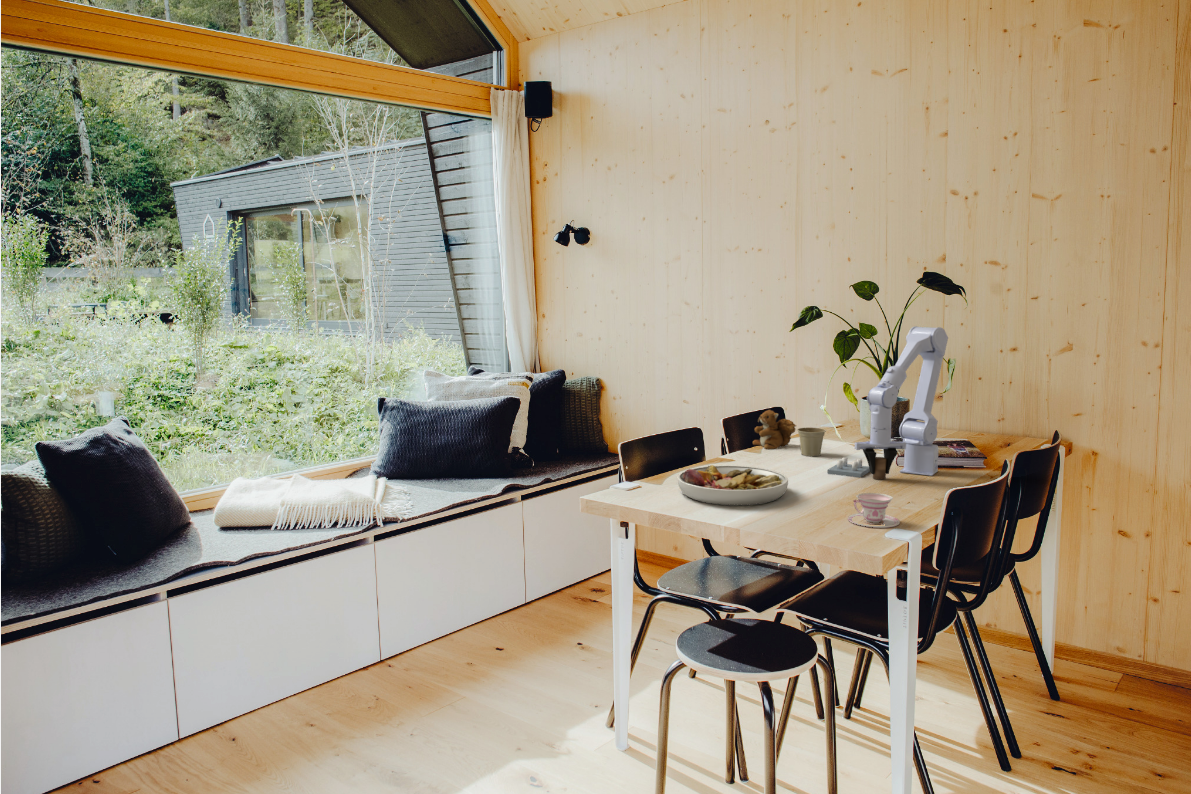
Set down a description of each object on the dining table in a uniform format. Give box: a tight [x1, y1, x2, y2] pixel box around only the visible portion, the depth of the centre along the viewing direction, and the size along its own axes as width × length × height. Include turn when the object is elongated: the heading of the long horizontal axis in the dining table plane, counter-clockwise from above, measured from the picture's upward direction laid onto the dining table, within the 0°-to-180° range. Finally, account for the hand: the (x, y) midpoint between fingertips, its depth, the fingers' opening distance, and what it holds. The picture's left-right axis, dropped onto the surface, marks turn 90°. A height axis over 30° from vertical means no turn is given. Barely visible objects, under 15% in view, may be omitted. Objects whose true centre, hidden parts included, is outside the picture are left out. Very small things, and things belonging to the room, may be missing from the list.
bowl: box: [677, 464, 789, 506], centre depth 227 cm, size 30×30×8 cm
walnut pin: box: [872, 456, 887, 480], centre depth 242 cm, size 4×4×6 cm
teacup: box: [847, 492, 901, 529], centre depth 199 cm, size 12×12×6 cm
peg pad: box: [827, 457, 870, 478], centre depth 252 cm, size 10×11×4 cm
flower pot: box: [796, 426, 827, 457], centre depth 277 cm, size 9×9×9 cm
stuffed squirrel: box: [752, 409, 797, 450], centre depth 293 cm, size 10×14×13 cm
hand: (879, 473), depth 243 cm, fingers closed on walnut pin, 4 cm apart
